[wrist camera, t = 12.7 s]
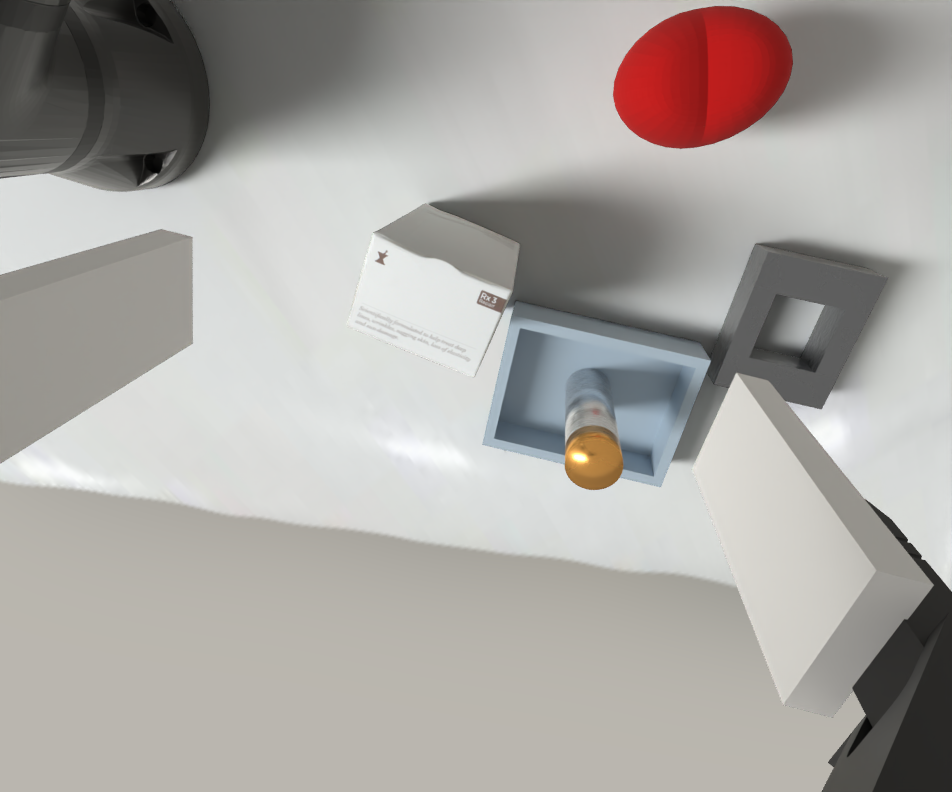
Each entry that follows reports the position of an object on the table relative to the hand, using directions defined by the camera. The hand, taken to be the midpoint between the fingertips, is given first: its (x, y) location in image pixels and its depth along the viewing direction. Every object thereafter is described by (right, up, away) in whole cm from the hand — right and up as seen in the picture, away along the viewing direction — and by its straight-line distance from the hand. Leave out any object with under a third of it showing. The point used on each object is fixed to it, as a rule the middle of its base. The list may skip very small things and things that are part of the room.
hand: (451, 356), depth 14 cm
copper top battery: (+10, 0, +33) cm, 35 cm away
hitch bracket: (+23, +5, +30) cm, 38 cm away
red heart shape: (+14, +19, +25) cm, 34 cm away
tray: (+10, 0, +34) cm, 36 cm away
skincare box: (0, +10, +31) cm, 33 cm away
